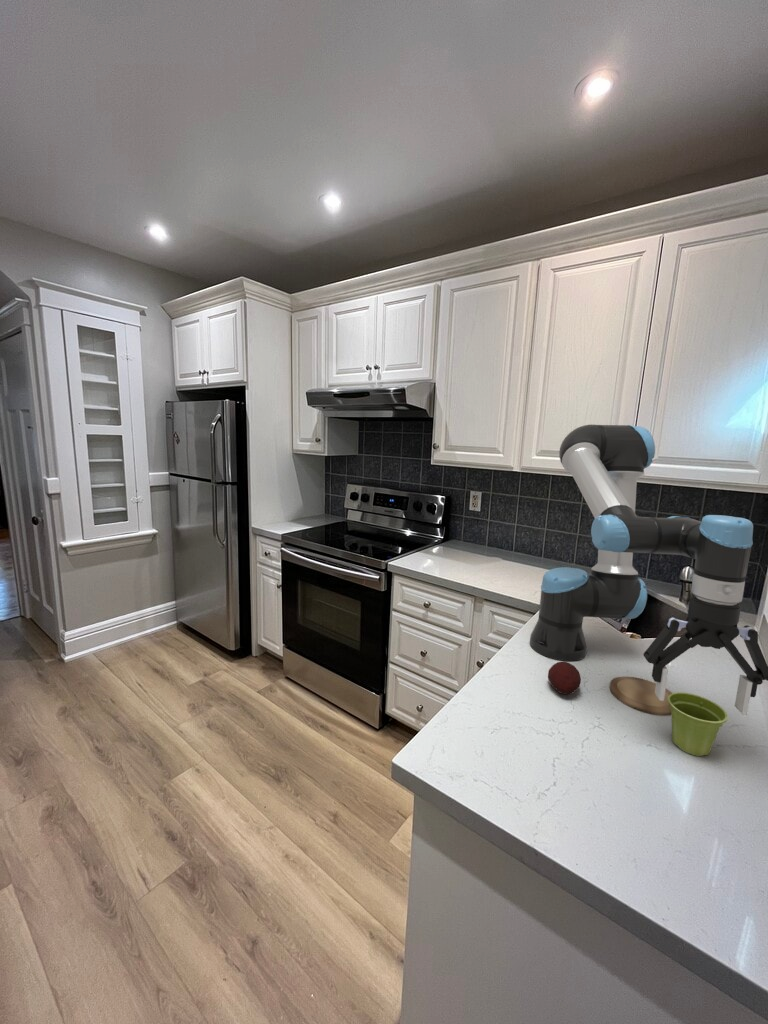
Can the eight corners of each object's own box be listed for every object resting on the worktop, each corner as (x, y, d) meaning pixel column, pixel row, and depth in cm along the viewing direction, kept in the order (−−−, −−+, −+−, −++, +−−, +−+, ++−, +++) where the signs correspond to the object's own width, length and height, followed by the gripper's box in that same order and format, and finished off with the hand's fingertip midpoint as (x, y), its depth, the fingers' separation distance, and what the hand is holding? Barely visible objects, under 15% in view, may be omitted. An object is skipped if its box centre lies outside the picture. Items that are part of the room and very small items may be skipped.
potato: (576, 681, 105) (579, 658, 104) (582, 704, 96) (585, 679, 95) (545, 675, 108) (548, 653, 107) (548, 697, 98) (550, 673, 97)
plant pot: (723, 771, 77) (731, 728, 76) (662, 750, 82) (668, 710, 81) (716, 741, 85) (723, 702, 84) (661, 724, 90) (667, 687, 88)
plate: (617, 707, 95) (618, 703, 95) (603, 675, 108) (604, 671, 108) (689, 720, 91) (689, 716, 91) (665, 686, 105) (666, 681, 104)
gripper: (646, 596, 78) (632, 701, 81) (811, 615, 72) (789, 729, 75) (634, 584, 85) (622, 681, 88) (784, 600, 79) (765, 705, 82)
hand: (699, 703), depth 82 cm, fingers open, 13 cm apart
